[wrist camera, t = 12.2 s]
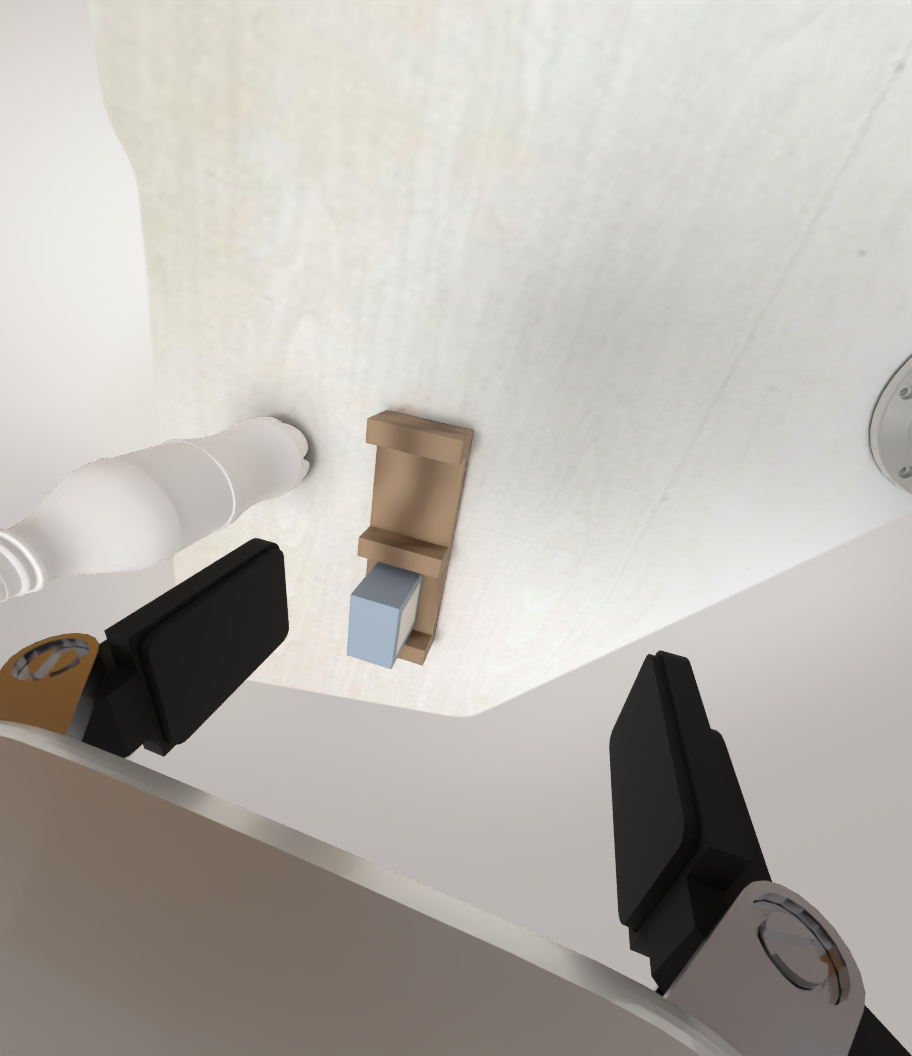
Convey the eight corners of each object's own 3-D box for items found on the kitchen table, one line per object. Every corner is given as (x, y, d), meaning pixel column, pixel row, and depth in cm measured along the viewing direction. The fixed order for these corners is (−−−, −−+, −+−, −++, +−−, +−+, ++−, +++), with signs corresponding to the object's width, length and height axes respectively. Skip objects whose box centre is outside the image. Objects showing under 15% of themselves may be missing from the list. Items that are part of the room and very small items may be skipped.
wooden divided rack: (473, 430, 36) (463, 441, 32) (433, 640, 46) (422, 665, 43) (386, 410, 37) (367, 418, 33) (367, 619, 48) (351, 642, 44)
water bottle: (271, 489, 43) (-36, 650, 21) (242, 420, 41) (-143, 523, 19) (329, 477, 41) (53, 645, 19) (302, 404, 38) (-54, 500, 16)
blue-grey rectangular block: (425, 567, 41) (399, 609, 35) (416, 622, 44) (391, 669, 38) (383, 555, 41) (350, 594, 35) (377, 610, 45) (346, 654, 38)
